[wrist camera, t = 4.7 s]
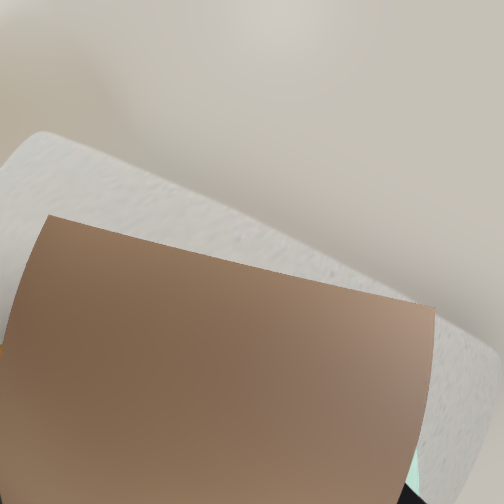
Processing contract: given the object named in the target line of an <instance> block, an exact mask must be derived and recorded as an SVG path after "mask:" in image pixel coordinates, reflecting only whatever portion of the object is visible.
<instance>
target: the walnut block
mask: <svg viewBox="0 0 504 504" xmlns="http://www.w3.org/2000/svg"><path fill="white" fill-rule="evenodd" d="M434 327H435V307H430V306H426V305H421V304H416V303H412V302H407V301H402V300H397V299H393V298H388V297H384V296H379V295H374V294H370V293H365V292H361V291H356V290H352V289H347V288H343V287H338V286H334V285H329V284H325V283H320V282H316V281H312V280H307V279H303V278H299V277H294V276H290V275H286V274H281V273H277V272H273V271H269V270H264V269H260V268H256V267H252V266H248V265H243V264H239V263H235V262H231V261H227V260H223V259H218V258H214V257H210V256H206V255H202V254H198V253H194V252H190V251H186V250H182V249H178V248H174V247H170V246H166V245H162V244H158V243H154V242H150V241H146V240H142V239H138V238H134V237H130V236H127V235H123V234H119V233H115V232H111V231H107V230H104V229H100V228H96V227H92V226H88V225H85V224H81V223H77V222H73V221H70V220H66V219H62V218H59V217H55V216H51V215H49V216H48V218H47V220H46V222H45V224H44V226H43V228H42V230H41V232H40V234H39V236H38V238H37V241H36V243H35V245H34V247H33V250H32V252H31V255H30V257H29V259H28V262H27V265H26V267H25V270H24V272H23V275H22V278H21V281H20V284H19V287H18V290H17V293H16V296H15V299H14V302H13V306H12V309H11V313H10V316H9V320H8V324H7V328H6V332H5V337H4V341H3V346H2V352H1V357H0V495H1V500H2V504H397V501H398V499H399V497H400V494H401V492H402V489H403V486H404V484H405V481H406V478H407V475H408V472H409V469H410V466H411V463H412V460H413V457H414V453H415V450H416V446H417V442H418V439H419V435H420V430H421V426H422V422H423V417H424V412H425V407H426V402H427V396H428V390H429V383H430V375H431V367H432V357H433V345H434Z"/></svg>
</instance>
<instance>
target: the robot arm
mask: <svg viewBox="0 0 504 504" xmlns="http://www.w3.org/2000/svg"><path fill="white" fill-rule="evenodd" d="M0 504H2V500H1V495H0ZM397 504H427V503H425V502H424V501H423V500H422V499H421V498H420V497H419V496H418V495H417V494H416V493H415V492H414V491H413V490H412V489H411V488H410V487H409V486H408V485H407V484H406V483H405V484H404V486H403V489H402V492H401V494H400V497H399V499H398V501H397Z"/></svg>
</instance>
